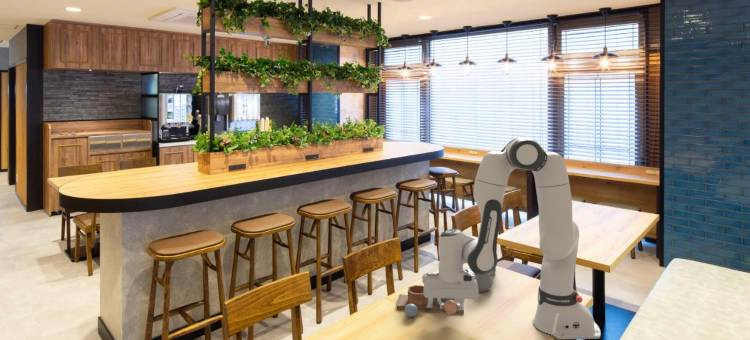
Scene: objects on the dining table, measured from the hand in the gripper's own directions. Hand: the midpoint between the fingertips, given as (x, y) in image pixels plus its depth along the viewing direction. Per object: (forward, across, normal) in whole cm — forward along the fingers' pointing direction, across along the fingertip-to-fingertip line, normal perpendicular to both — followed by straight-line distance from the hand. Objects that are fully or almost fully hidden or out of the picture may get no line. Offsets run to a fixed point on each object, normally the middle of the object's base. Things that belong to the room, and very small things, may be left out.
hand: (450, 308), depth 167 cm
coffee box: (+5, +19, +50) cm, 54 cm away
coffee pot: (+5, +18, +32) cm, 37 cm away
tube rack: (+4, -8, +11) cm, 14 cm away
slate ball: (+2, -15, +2) cm, 15 cm away
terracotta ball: (-1, 0, 0) cm, 1 cm away
